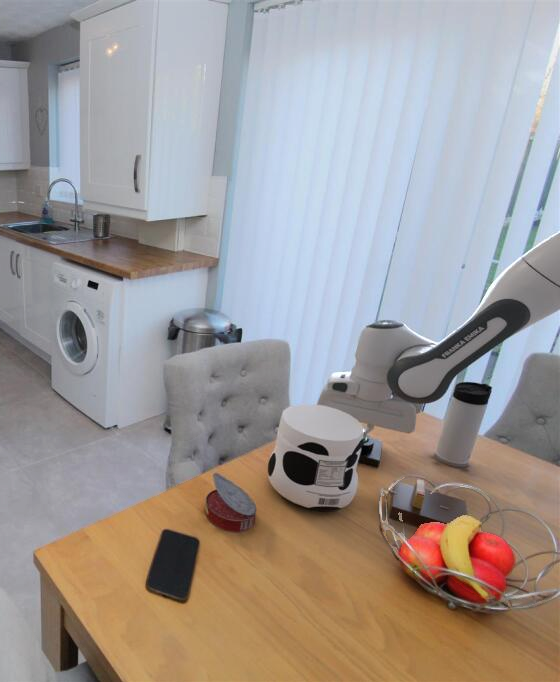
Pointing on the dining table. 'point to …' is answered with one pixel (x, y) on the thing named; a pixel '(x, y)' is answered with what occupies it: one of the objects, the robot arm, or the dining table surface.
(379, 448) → the alarm box
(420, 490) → the lock knob
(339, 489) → the milk container
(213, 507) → the canned food
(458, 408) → the travel mug
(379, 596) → the dining table surface
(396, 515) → the lock plate
